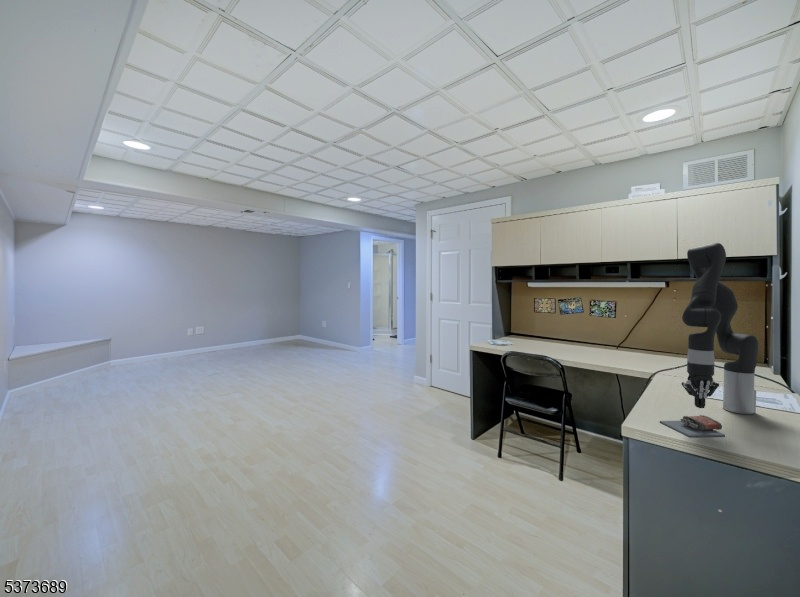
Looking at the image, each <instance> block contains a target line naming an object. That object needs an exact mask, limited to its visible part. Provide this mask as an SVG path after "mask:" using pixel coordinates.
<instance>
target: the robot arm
mask: <svg viewBox="0 0 800 597" xmlns="http://www.w3.org/2000/svg"><path fill="white" fill-rule="evenodd" d="M686 254H687V256H686V257H687V261H688V263H689V266H690V267H691V269H692V272H693V273H694V276H695V278H696V281H695V282H694V284H693V286H692V290H691V297H690V301H689V303H688V304H687V306H686V308H685V309H684V311H683V313H682V317H681V318H682V322H683V324H684V325H686V326H687V327H693V328H694V327H696V328H697V327H698V328H707V329H706V330H705V331H703V332H692V333H690V334H689V335H688V340H687V341H688V350H687V357H686V358H687V359H686V360H687V361H686V372H687V374H688V377H687V380H686V381H685V382H684V381H683V382H681V386H682V387H683V389H684V390H685V391H686V392H687V394H688V395H689V396H691V397H694V406H695V407H696V408H698V409H705V407H706V399H707V398H709V397H712V395H713V394H714V393H715V391H716V390H717V389H718V388H719V387H720V383H718V382H716V381H714V378H713V377H714V376H715V350H714V349H715V348H714V347H715V337H716V338H717V342H718V346H719V348H720V349H721V351H722V352H723V353H726V354H729V355H736V356H738V359H737V360H735V361H727V362H725V363H723V397H722V409H724V410H726V411H728V412H732V413H735V414H741V415H753V414H756V412H757V390H756V389H755V377H756V376H755V374H756V373H755V372H756V371H755V370H756V367H757V363H758V352H759V342H758V339H757V337H756V336H754V335H753V334H745V333H739V332H738V333H737V332H734V331H733V329H732V326H731V322H732V320H733V318H734V316H735V314H736V313H737V310H738V308H739V306H738V301H737V298H736V295H735V294H734V293H735V292H734V291H733V290H732V289H731V288H730V287H728V286H727V285H726V284H724V283H723V282H721V281H720V279H721V276H722V273H723V270H724V267H725V264H726V261H727V259H726V258H727V253H726V249H725V246H724V245H723V244H722V243H720V242H714V243H713V242H712V243H708V244H704V245H699V246H695V247H691V248H689V249H688V250H687V252H686ZM706 268H707V269H706Z"/></svg>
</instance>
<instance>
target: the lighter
mask: <svg viewBox="0 0 800 597" xmlns="http://www.w3.org/2000/svg"><path fill="white" fill-rule="evenodd" d="M680 421H681V422H683V423H685V425H687V426H691V427H692V428H695V429H697V430H701V431H703V430H712V429H713V430H715V431H719V430H720V431H721V430H722V428H723V425H722V423H720V422H719V421H718V420H716V419H714V418H712V417H709V416H706V415H703V414H700V415H693V416H688V415H683V417H682V418H680Z"/></svg>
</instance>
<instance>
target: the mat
mask: <svg viewBox="0 0 800 597" xmlns="http://www.w3.org/2000/svg"><path fill="white" fill-rule="evenodd" d="M659 424H662V425H664V426H666V427H668V428H669V429H672V430H674V431H676V432H678V433H680V434H682V435H684V436H686V437H689V438H717V437H718V438H719V437H722V438H724V437H726V435H725V434H724V433H722V432H720V431H718V430H716V429H712V430H703V431H701V430H697V429H695V428H692V427H691V426H687V425H685V423H683V422H681V420H659Z"/></svg>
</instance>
